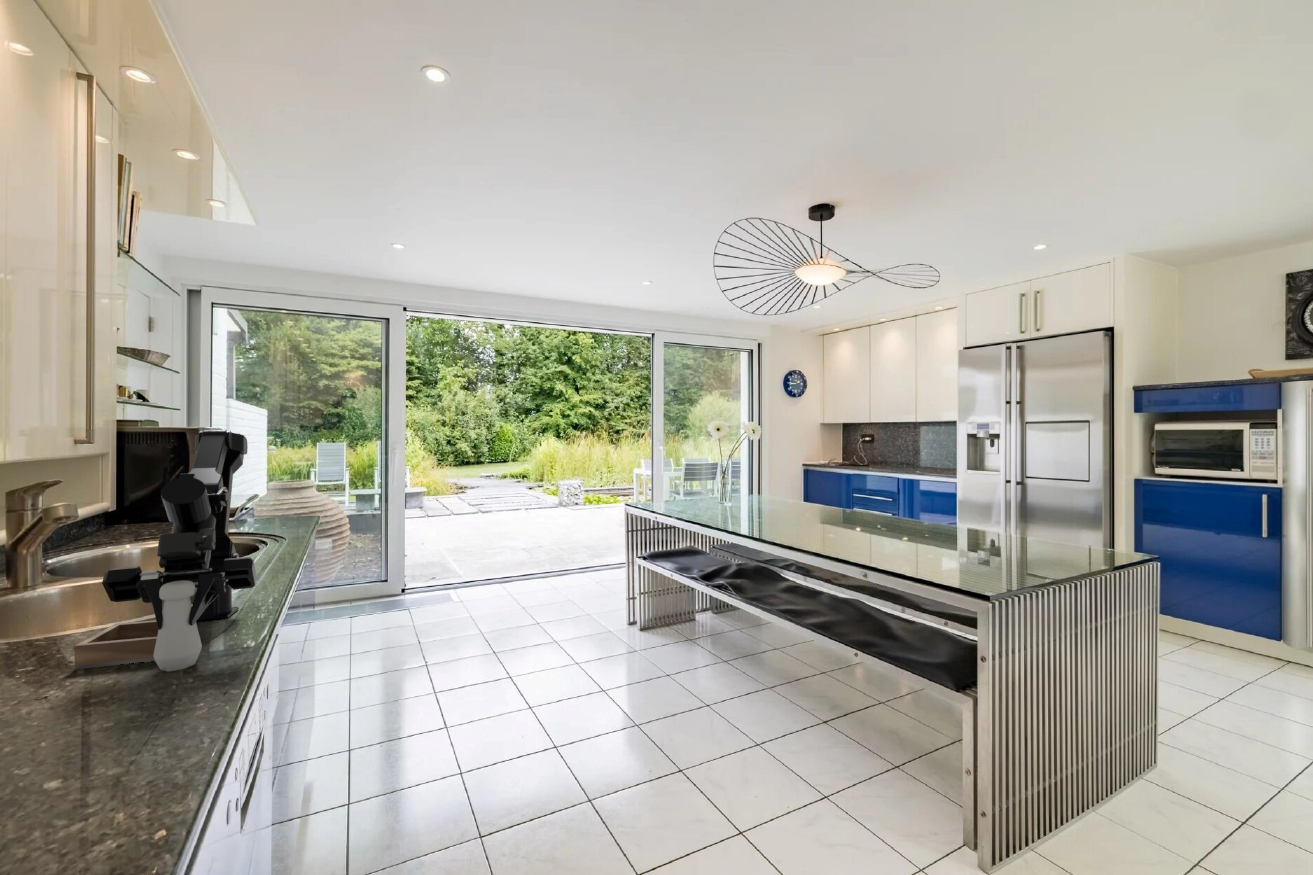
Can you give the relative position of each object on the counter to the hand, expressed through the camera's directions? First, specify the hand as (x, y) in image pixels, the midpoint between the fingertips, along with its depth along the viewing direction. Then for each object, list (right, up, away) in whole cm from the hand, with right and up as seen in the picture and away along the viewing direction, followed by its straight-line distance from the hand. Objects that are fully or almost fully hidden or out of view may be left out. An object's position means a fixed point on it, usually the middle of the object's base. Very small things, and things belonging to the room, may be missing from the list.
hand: (175, 626), depth 89 cm
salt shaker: (-1, -7, +1) cm, 7 cm away
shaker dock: (-12, -7, +7) cm, 15 cm away
